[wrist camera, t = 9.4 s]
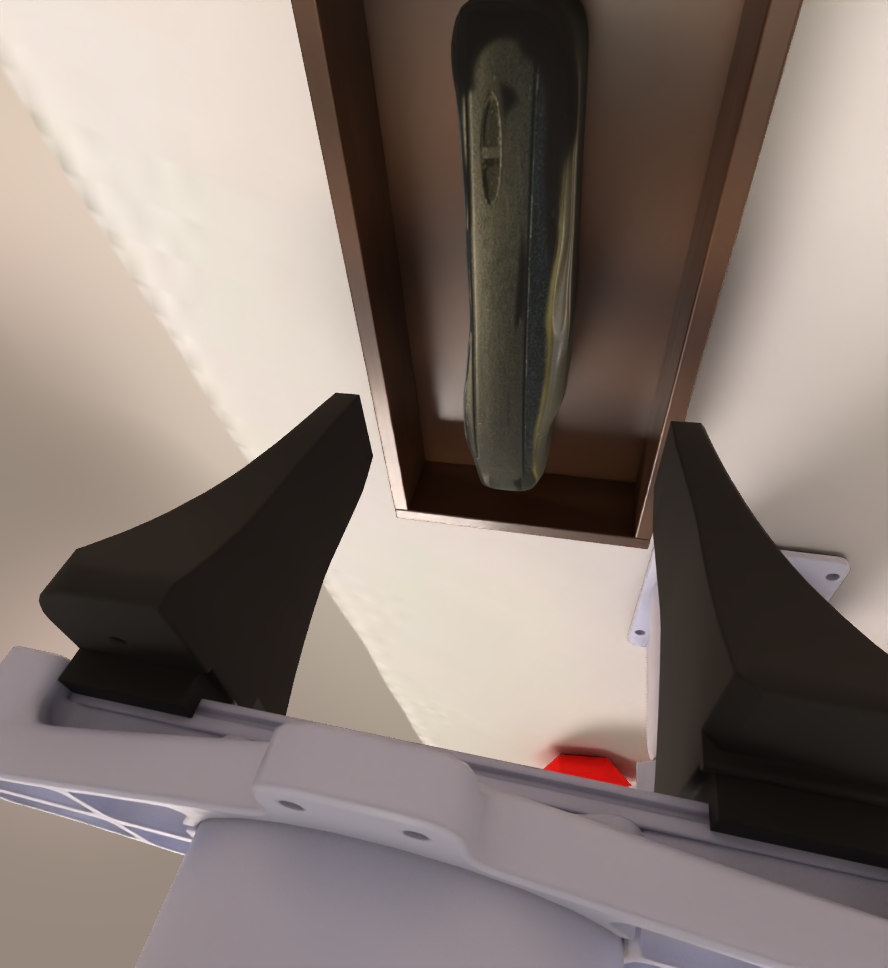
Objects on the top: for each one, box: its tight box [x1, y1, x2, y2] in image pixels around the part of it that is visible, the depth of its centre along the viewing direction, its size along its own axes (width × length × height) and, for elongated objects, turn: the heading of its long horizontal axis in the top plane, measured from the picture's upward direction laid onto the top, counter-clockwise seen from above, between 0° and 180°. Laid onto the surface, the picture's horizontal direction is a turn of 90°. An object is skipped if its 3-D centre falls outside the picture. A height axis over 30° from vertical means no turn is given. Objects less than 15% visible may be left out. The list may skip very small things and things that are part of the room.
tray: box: [291, 0, 803, 549], centre depth 18 cm, size 19×10×4 cm, turn 4°
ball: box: [544, 754, 632, 787], centre depth 47 cm, size 8×8×8 cm
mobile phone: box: [451, 0, 589, 491], centre depth 18 cm, size 5×3×15 cm
